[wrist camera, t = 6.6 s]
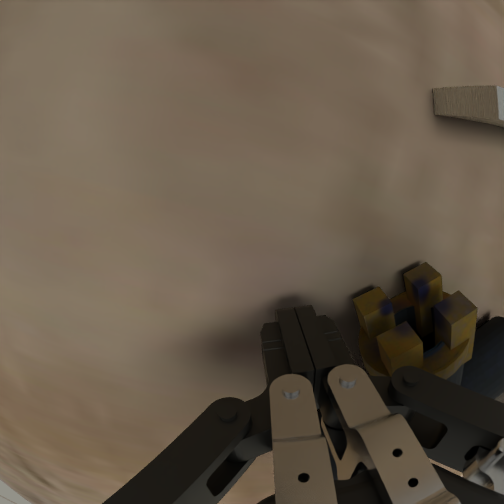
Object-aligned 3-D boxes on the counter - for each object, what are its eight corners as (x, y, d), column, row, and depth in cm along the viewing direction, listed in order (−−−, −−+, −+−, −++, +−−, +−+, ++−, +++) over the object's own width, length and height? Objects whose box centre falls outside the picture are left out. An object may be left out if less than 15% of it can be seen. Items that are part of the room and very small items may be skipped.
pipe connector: (247, 430, 9) (559, 254, 8) (239, 337, 14) (490, 215, 12) (323, 498, 14) (518, 392, 12) (308, 437, 19) (482, 348, 17)
